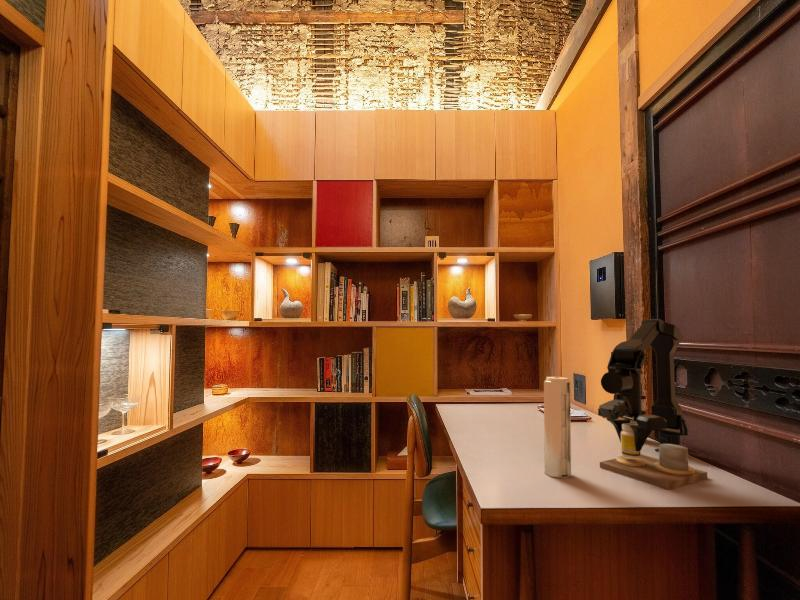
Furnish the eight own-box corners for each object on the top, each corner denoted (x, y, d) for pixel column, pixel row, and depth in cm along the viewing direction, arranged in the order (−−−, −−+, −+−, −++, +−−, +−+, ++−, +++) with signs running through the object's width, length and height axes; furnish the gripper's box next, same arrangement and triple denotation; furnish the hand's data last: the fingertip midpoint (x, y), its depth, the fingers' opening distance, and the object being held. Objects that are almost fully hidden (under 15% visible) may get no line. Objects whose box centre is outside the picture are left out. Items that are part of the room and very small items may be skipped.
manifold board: (638, 458, 124) (638, 433, 125) (707, 478, 109) (706, 449, 109) (599, 467, 115) (599, 440, 116) (668, 489, 100) (667, 458, 100)
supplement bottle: (643, 459, 112) (642, 427, 113) (624, 457, 113) (623, 426, 114) (637, 454, 117) (636, 423, 118) (618, 452, 118) (618, 422, 119)
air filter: (570, 471, 111) (569, 376, 113) (571, 479, 105) (570, 379, 107) (544, 468, 114) (543, 375, 115) (544, 476, 107) (543, 377, 109)
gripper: (581, 386, 124) (582, 441, 122) (631, 397, 105) (632, 460, 104) (613, 386, 126) (615, 439, 125) (667, 395, 108) (669, 457, 107)
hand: (630, 448), depth 115 cm, fingers closed on supplement bottle, 5 cm apart
